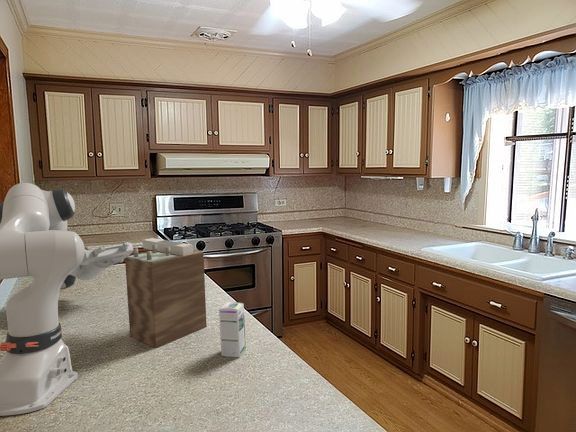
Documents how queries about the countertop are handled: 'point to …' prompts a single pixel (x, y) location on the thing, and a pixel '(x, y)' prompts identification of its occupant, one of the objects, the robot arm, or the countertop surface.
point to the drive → (174, 246)
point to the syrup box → (232, 329)
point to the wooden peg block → (165, 295)
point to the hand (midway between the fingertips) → (115, 245)
